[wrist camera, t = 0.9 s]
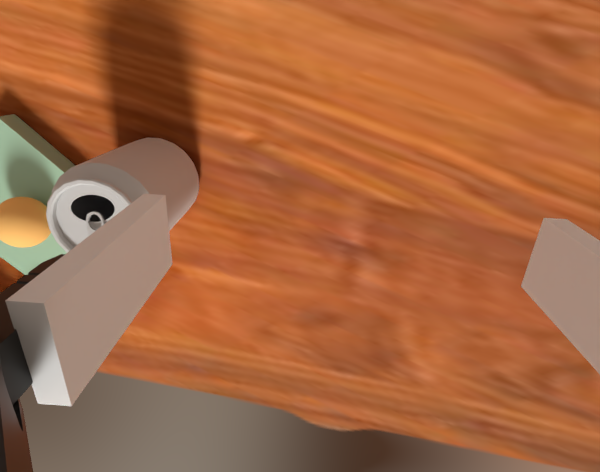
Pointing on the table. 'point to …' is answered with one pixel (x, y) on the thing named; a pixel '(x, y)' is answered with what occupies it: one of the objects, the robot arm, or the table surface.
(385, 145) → the table surface
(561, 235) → the robot arm
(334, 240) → the table surface
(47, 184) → the board
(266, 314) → the table surface
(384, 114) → the table surface
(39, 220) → the ball
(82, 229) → the can
